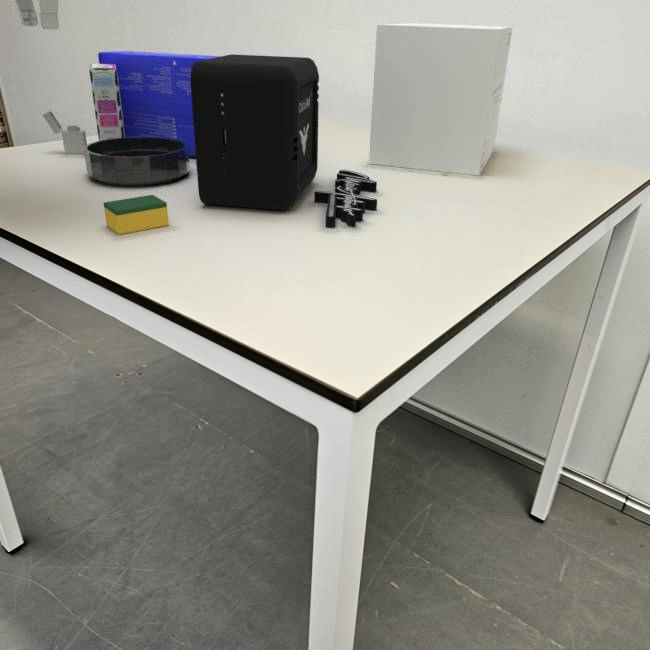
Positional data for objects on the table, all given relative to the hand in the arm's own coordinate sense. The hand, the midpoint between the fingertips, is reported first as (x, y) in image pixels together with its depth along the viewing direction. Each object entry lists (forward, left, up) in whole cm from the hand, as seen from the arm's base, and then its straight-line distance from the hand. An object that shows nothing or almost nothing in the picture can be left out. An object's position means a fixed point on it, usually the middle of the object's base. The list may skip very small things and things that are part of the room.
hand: (40, 27), depth 77 cm
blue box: (+32, +25, -24) cm, 47 cm away
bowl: (+16, +14, -24) cm, 32 cm away
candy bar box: (+18, +32, -24) cm, 44 cm away
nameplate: (+37, -18, -24) cm, 48 cm away
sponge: (+5, -12, -24) cm, 27 cm away
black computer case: (+28, -8, -24) cm, 38 cm away
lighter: (+11, +38, -24) cm, 46 cm away
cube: (+73, -3, -24) cm, 77 cm away
